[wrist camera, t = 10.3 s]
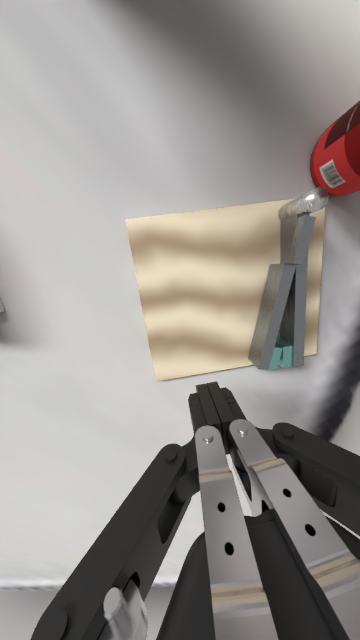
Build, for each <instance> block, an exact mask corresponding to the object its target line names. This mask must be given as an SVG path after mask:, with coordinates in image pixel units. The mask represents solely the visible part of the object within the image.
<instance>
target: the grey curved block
mask: <svg viewBox="0 0 360 640" xmlns="http://www.w3.org/2000/svg"><path fill="white" fill-rule="evenodd" d="M3 311H5V310H4V308H3V305H2V303H1V301H0V312H3Z"/></svg>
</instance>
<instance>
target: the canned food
mask: <svg viewBox="0 0 360 640" xmlns="http://www.w3.org/2000/svg"><path fill="white" fill-rule="evenodd" d="M310 170H311V176H312V179H313V181H314V183H315V185H316V186H317V187H324V188H326V189H327V191H328V194H329V195H332V196H340V195H347V194H350V193H353V192H355V191H358V190H360V101H359V102H358V103H356V104H355V105H354V106H353V107H352V108H351V109H349V110H348V111H347V112H346V113H345V114H344V115H342V116H341V117H340V118H339V119H338V120H337V121H335V122H334V123H333V124H332V125H331V126H330V127H328V128H327V129H326V131H325V132H324V133H323V134H322V136H321V137H320V139H319V140H318V142H317V143H316V145H315V147H314V149H313V152H312V156H311V161H310Z"/></svg>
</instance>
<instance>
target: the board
mask: <svg viewBox="0 0 360 640" xmlns="http://www.w3.org/2000/svg"><path fill="white" fill-rule="evenodd" d="M295 199H296V198H295ZM292 200H294V199H287V200H279V201H271V202H263V203H254V204H246V205H238V206H230V207H222V208H214V209H206V210H198V211H190V212H181V213H173V214H165V215H157V216H149V217H141V218H133V219H125V220H126V226H127V231H128V236H129V241H130V247H131V252H132V257H133V262H134V268H135V273H136V278H137V283H138V289H139V294H140V299H141V304H142V310H143V315H144V320H145V325H146V331H147V336H148V341H149V346H150V351H151V357H152V362H153V367H154V372H155V378H156V381H162V380H168V379H173V378H179V377H185V376H191V375H197V374H202V373H208V372H214V371H220V370H226V369H231V368H237V367H243V366H249V365H254V364H253V363H252V362H251V361H250V360H249V359H248V356H249V351H250V347H251V343H252V339H253V334H254V330H255V326H256V322H257V317H258V313H259V309H260V304H261V300H262V296H263V292H264V287H265V283H266V279H267V275H268V270H269V266H270V264H280V220H279V217H278V212H279V209H280V208H281V207H282V206H283V205H285V204H287V203H289V202H290V201H292ZM310 216H312V217H316V220H315V223H314V227H313V230H312V234H311V238H310V241H309V245H308V269H307V293H306V317H305V341H304V356H307V355H313V354H316V352H317V335H318V319H319V302H320V286H321V269H322V253H323V236H324V220H325V207H324V208H323V209H321V210H319V211H316V212H313V213H311V214H310ZM277 338H280V328H279V332H278V335H277Z"/></svg>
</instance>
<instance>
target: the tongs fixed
mask: <svg viewBox="0 0 360 640" xmlns="http://www.w3.org/2000/svg"><path fill="white" fill-rule="evenodd" d="M328 200H329V194H328V191H327V189H326V188H324V187H317V188H315V189H313V190H311V191H309V192H307V193H306V194H304V195H302V196H300V197H298V198H296V199H294V200H292V201H290V202H289V203H287V204H285V205H283V206H282V207H281V208H280V209H279V212H278V217H279V220H280V264H281V263H286V264H287V260H288V256H289V252H290V248H291V245H292V241H293V237H294V233H295V229H296V225H297V221H298V218H299V217H302V216H304V215H307V216H310V214H311V213H313V212H316V211H319V210H321V209H323V208H324V207H325V206H326V205H327V203H328ZM293 265H294V264H293ZM307 269H308V249H307V252H306V256H305V260H304V263H303V265H296V268H295V272H294V275H293V279H292V283H291V287H290V290H289V294H288V298H287V302H286V305H285V309H284V313H283V317H282V320H281V324H280V338H277V339H276V344H277V345H279V346H280V347H282V348H283V349H282V353H281V356H280V360H279V365H280V366H281V367H282V368H286V367H292V366H293V367H297V366H303V365H304V341H305V317H306V293H307Z"/></svg>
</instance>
